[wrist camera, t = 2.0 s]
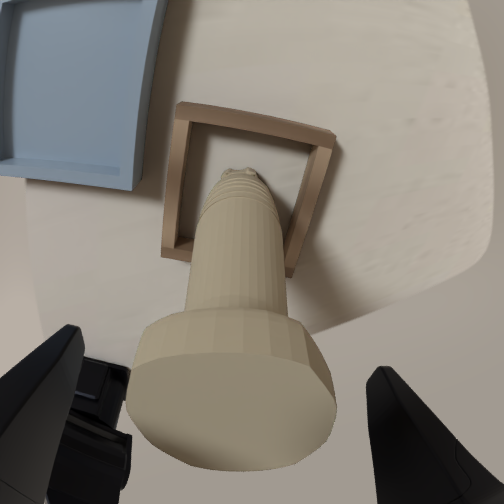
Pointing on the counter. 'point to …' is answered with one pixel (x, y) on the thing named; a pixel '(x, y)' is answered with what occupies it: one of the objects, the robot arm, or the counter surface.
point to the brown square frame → (257, 123)
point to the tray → (77, 88)
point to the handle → (233, 349)
